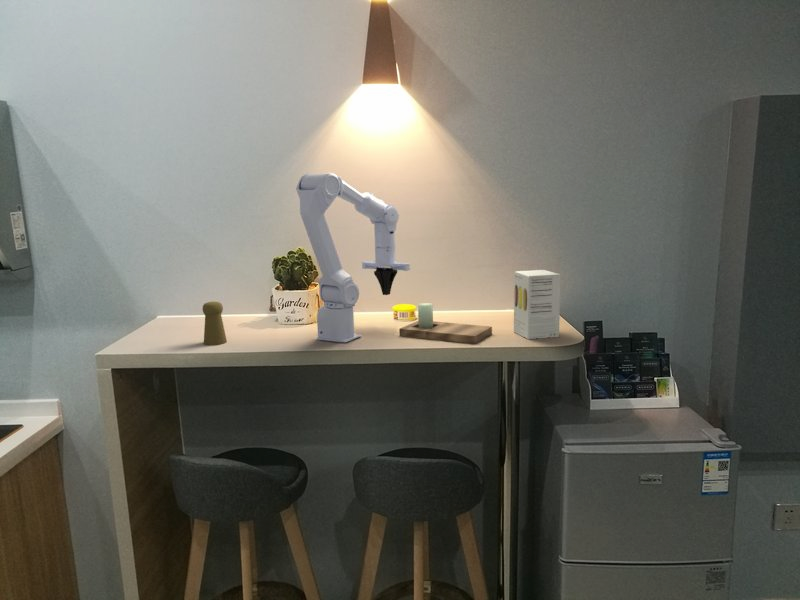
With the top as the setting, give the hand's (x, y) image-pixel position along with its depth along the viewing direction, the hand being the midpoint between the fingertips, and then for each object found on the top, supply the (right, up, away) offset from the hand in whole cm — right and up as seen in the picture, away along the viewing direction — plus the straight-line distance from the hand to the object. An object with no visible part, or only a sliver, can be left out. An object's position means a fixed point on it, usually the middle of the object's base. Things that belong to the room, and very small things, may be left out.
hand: (386, 294), depth 184 cm
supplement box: (+40, -11, -12) cm, 44 cm away
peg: (+11, -11, -8) cm, 17 cm away
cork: (-46, -13, -13) cm, 49 cm away
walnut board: (+16, -11, -10) cm, 22 cm away
